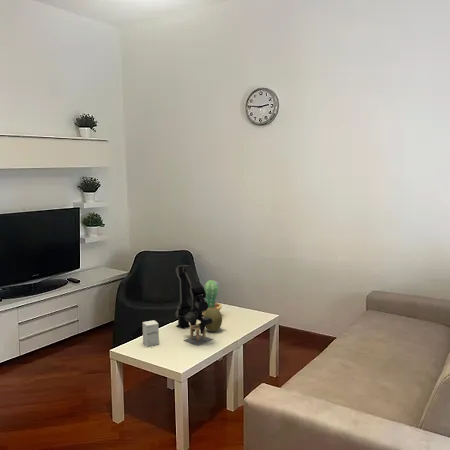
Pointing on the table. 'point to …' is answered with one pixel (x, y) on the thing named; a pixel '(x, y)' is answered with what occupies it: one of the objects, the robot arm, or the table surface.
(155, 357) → the table surface
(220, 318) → the fruit
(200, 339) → the mat
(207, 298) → the potted cactus
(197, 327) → the stool
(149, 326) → the supplement box
